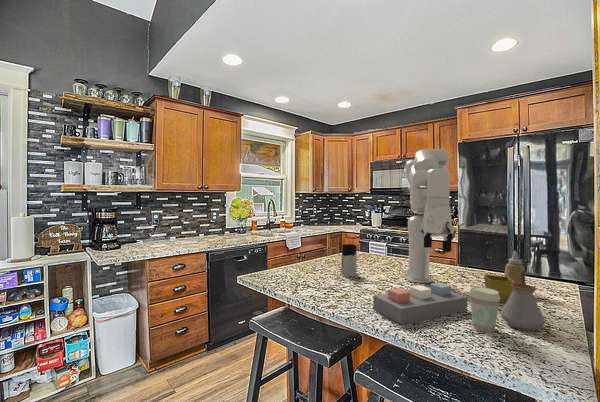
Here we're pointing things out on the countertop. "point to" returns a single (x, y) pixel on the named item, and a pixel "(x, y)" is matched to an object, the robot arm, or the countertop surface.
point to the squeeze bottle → (514, 268)
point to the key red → (399, 295)
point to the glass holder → (348, 260)
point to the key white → (420, 292)
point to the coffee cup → (484, 308)
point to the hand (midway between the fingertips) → (436, 249)
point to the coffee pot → (522, 307)
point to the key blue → (440, 289)
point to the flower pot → (500, 285)
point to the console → (419, 307)
